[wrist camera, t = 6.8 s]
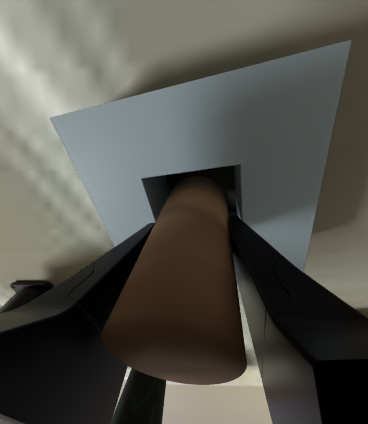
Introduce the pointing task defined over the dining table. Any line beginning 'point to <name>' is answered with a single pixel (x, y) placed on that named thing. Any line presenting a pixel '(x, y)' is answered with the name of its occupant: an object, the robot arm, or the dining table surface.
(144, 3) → the dining table surface
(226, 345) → the dowel
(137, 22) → the dining table surface
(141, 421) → the cup
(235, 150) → the socket
